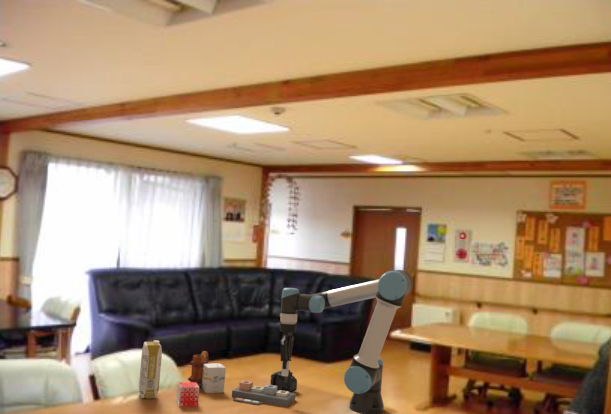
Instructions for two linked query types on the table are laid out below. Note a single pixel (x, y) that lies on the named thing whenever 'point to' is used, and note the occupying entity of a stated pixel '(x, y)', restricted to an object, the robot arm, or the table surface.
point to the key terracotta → (245, 385)
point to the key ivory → (282, 393)
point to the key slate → (270, 389)
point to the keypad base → (263, 397)
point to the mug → (198, 367)
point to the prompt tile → (247, 401)
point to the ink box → (213, 378)
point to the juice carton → (150, 369)
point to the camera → (284, 381)
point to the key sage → (257, 389)
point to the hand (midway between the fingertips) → (284, 375)
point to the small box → (187, 394)
